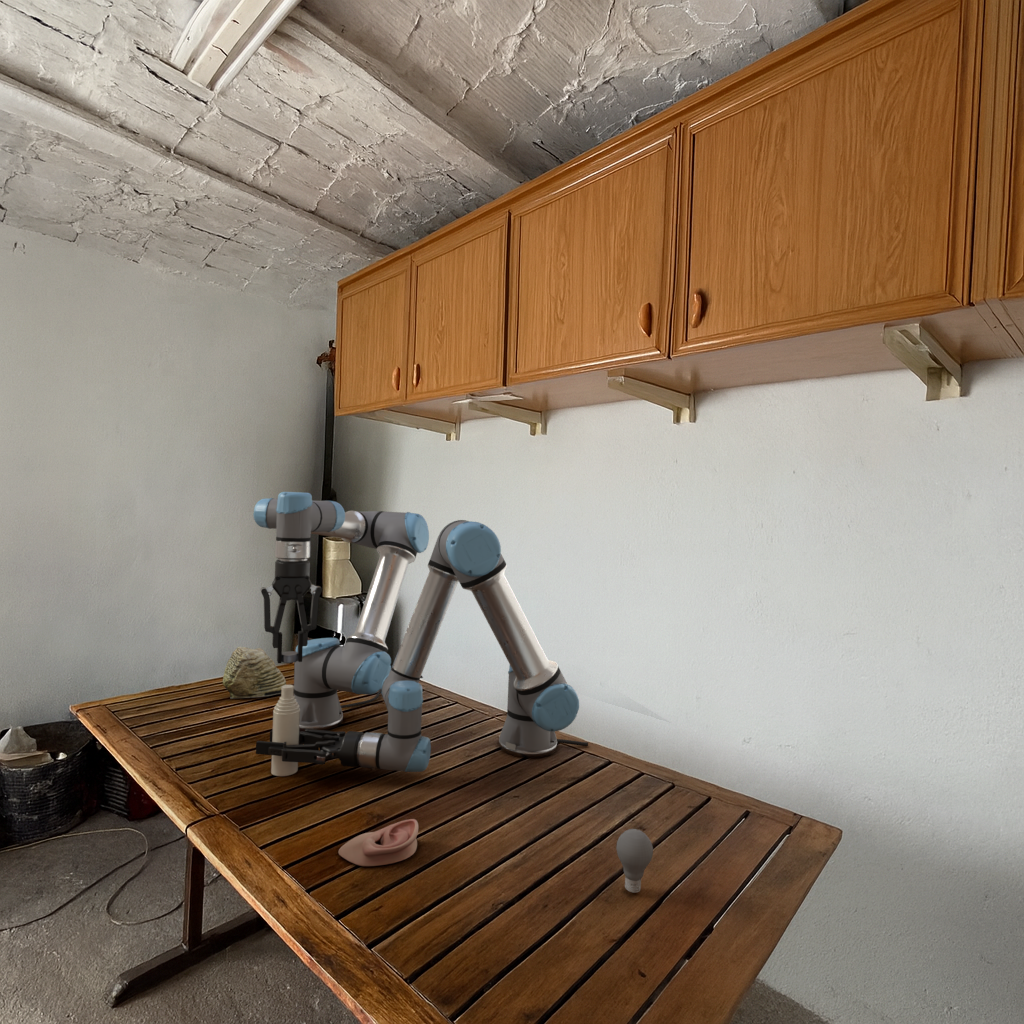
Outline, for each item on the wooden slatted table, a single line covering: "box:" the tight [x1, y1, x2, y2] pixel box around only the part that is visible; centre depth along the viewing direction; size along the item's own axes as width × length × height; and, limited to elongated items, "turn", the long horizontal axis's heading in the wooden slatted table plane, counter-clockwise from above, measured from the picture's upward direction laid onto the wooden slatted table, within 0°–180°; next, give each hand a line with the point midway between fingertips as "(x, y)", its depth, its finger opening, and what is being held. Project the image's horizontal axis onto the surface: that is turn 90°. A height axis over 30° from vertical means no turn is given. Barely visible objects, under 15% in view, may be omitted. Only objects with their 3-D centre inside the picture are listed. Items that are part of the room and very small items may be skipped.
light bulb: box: [615, 828, 654, 894], centre depth 106 cm, size 6×6×10 cm
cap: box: [281, 650, 299, 664], centre depth 145 cm, size 4×4×2 cm
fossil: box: [222, 646, 287, 699], centre depth 198 cm, size 9×18×15 cm, turn 132°
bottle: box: [270, 684, 300, 777], centre depth 145 cm, size 6×6×20 cm
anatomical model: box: [337, 818, 419, 867], centre depth 114 cm, size 13×4×12 cm
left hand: (289, 660), depth 145 cm, fingers closed on cap, 4 cm apart
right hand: (264, 741), depth 146 cm, fingers closed on bottle, 6 cm apart
